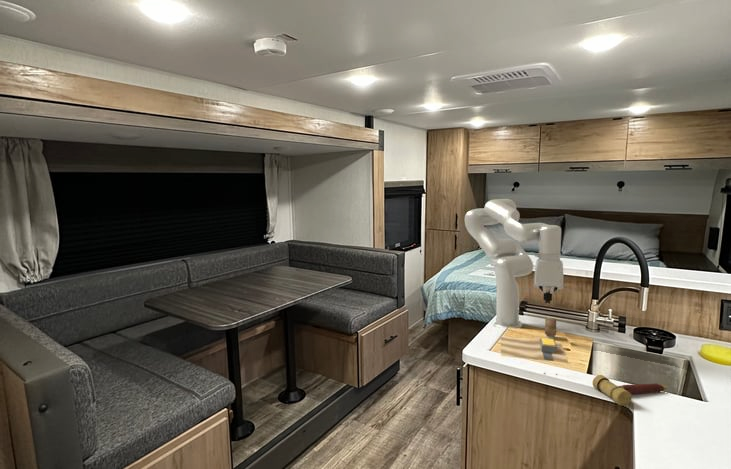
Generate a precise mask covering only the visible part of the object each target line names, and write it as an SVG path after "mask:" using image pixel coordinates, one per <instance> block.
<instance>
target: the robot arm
mask: <svg viewBox="0 0 731 469" xmlns="http://www.w3.org/2000/svg"><path fill="white" fill-rule="evenodd" d="M484 204H485V205H484V208H483V207H482V208H474V209H470V210H469V211H467V212H466V213H465V215H464V226H465V228H466V230H467V232H468V233H469V235H470V236H471V237H472V238H473V239H474V240H475V241H476V242H477V244H478V245H479V246H480V248H481V249H482V251H483V252H484V254H485V255H486V256H487V257H488V258H489V260H492V261H495V262H494V265H493V269H494V270H493V271H494V273H495V282H496V284H495V285H496V308H495V310H496V313H495V314H496V316H495V317H496V318H495V319H496V322H495V323H494V324H495V325H497V326H499V327H498V328H509V329H522V327H523V323H522V322H521V321H520V320H519V318H520V316H519V313H520V299H519V298H520V285H519V284H518V282H517V280H516V278H517V277H524V276H528V275H530V274H532V272H533V270H534V277H533V278H534V282H533V283H532V284H533V287H534V288H537V289H539V290H540V291H542V293H543V301H544V302H545V304H551V301H553V294H554V293H555V292H556V291H559V290H563V289H564V264H563V261H562V260H561V249H562V248H561V246H562V244H561V243H562V227H561V226H559V225H556V224H547V223H543V222H534V223H533V222H532V223H531V222H530V223H522V222H519V220H520V215H521V214H520V212H519V210H517V204H516V203H515V201H513V200H512V199H509V198H497V199H496V198H495V199H490V200H488V201H487V202H486V203H484ZM498 224H501V225H502V226H503V230H504V231H505V233H506V235H507V236H509V237H510V238H502V239H501V238H498V237H497V236H496V234H495V233H494V232H493V231H492V230H491V229H490V228H487V227H486V226H494V225H498ZM536 242H539V243H538V244H539V245H538V248H539V249H538V252H537V253H534V257H536V258H537V259H536V262H535V268H534V262H533V260H532V259H531V256H529V254H528V253H527V252H526V251H525V249H523V247H522V246H521V245H520V244H519V243H522V244H523V243H524V244H525V243H536ZM547 287H549V290H547Z"/></svg>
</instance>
